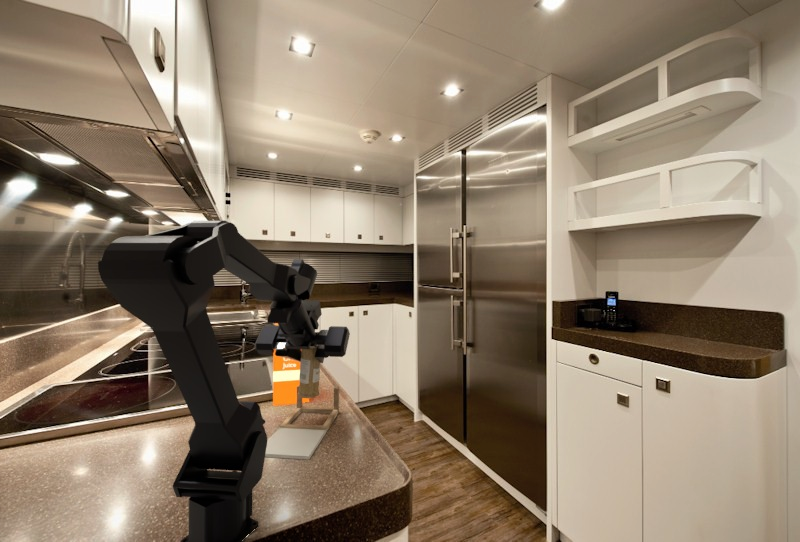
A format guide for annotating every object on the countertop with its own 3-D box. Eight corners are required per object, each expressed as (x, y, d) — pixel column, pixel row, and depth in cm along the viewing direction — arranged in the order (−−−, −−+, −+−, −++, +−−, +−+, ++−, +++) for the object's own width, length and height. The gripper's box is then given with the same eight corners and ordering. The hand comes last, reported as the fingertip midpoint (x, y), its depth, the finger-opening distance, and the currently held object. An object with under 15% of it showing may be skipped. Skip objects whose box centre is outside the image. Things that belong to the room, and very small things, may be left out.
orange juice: (276, 394, 88) (276, 321, 88) (310, 391, 91) (310, 319, 91) (272, 406, 81) (273, 325, 81) (309, 402, 83) (309, 324, 83)
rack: (325, 432, 68) (325, 404, 68) (279, 430, 68) (279, 402, 68) (338, 412, 78) (339, 387, 78) (298, 410, 78) (298, 385, 78)
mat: (309, 459, 58) (309, 456, 58) (255, 456, 59) (255, 453, 59) (326, 431, 68) (326, 429, 68) (280, 429, 69) (280, 426, 69)
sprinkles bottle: (321, 397, 72) (325, 336, 72) (301, 400, 69) (305, 337, 69) (314, 390, 76) (318, 332, 76) (295, 393, 73) (299, 333, 73)
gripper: (347, 288, 68) (358, 332, 79) (262, 287, 70) (284, 330, 81) (337, 333, 60) (350, 374, 71) (240, 331, 62) (268, 372, 73)
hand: (312, 361), depth 74 cm, fingers closed on sprinkles bottle, 4 cm apart
